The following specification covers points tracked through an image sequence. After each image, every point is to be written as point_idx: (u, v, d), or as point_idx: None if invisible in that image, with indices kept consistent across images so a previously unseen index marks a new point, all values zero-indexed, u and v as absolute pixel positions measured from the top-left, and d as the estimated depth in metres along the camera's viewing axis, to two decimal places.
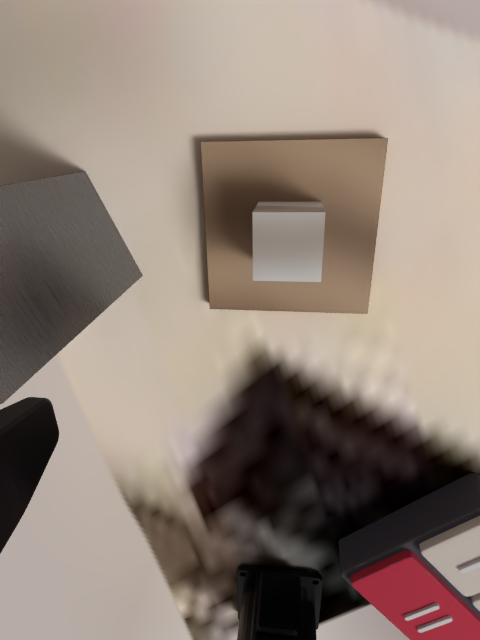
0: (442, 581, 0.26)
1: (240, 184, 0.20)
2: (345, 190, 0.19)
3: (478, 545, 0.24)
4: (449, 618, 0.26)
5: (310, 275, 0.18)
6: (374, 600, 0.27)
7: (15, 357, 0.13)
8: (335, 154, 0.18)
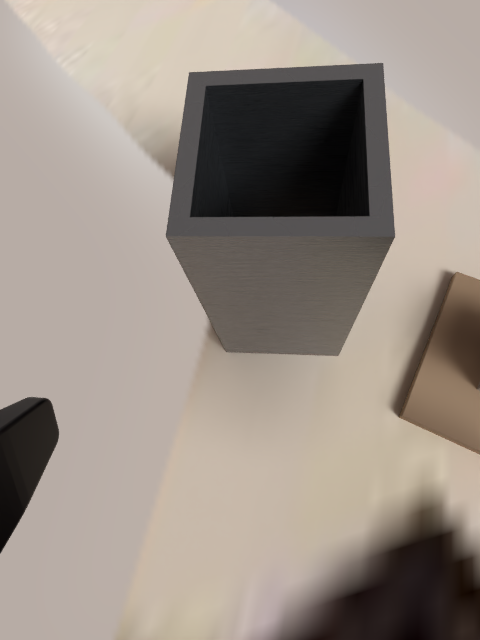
0: None
1: None
2: None
3: None
4: None
5: None
6: None
7: None
8: None
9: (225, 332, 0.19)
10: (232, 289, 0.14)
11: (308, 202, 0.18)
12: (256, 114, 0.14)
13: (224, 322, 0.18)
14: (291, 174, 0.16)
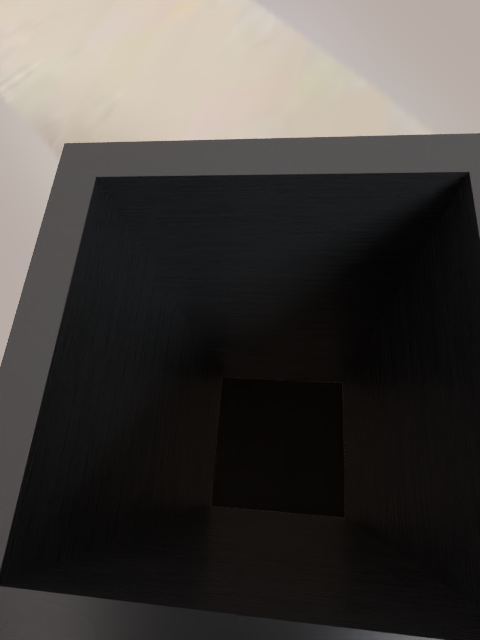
0: None
1: None
2: None
3: None
4: None
5: None
6: None
7: None
8: None
9: None
10: None
11: (320, 333, 0.11)
12: (218, 226, 0.06)
13: None
14: (292, 304, 0.09)
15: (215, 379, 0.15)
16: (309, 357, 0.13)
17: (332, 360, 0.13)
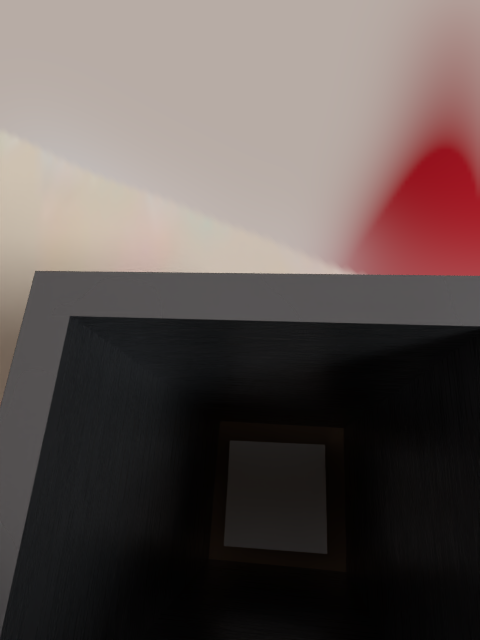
0: None
1: (219, 424, 0.16)
2: None
3: None
4: None
5: (310, 541, 0.12)
6: None
7: None
8: None
9: None
10: None
11: (321, 403, 0.10)
12: (209, 347, 0.06)
13: None
14: (291, 388, 0.09)
15: (212, 429, 0.15)
16: (309, 415, 0.13)
17: (333, 417, 0.13)
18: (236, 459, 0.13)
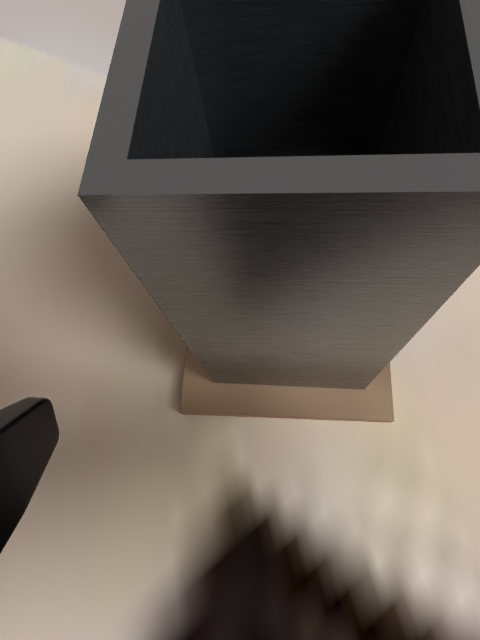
0: None
1: None
2: None
3: None
4: None
5: None
6: None
7: None
8: None
9: (210, 360, 0.13)
10: (216, 300, 0.09)
11: None
12: (256, 14, 0.08)
13: (208, 347, 0.12)
14: (307, 129, 0.11)
15: None
16: None
17: None
18: None
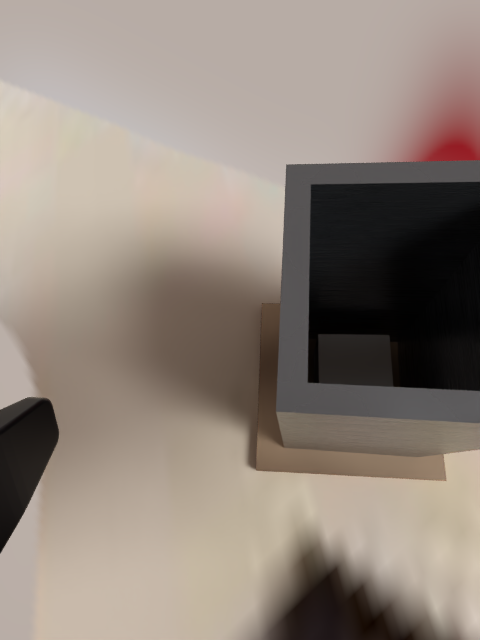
0: None
1: None
2: (396, 345, 0.20)
3: None
4: None
5: None
6: None
7: None
8: None
9: (294, 443, 0.16)
10: (331, 432, 0.11)
11: (399, 292, 0.15)
12: (367, 213, 0.11)
13: (299, 440, 0.14)
14: (389, 268, 0.13)
15: None
16: (381, 315, 0.17)
17: (397, 318, 0.17)
18: (324, 346, 0.18)
